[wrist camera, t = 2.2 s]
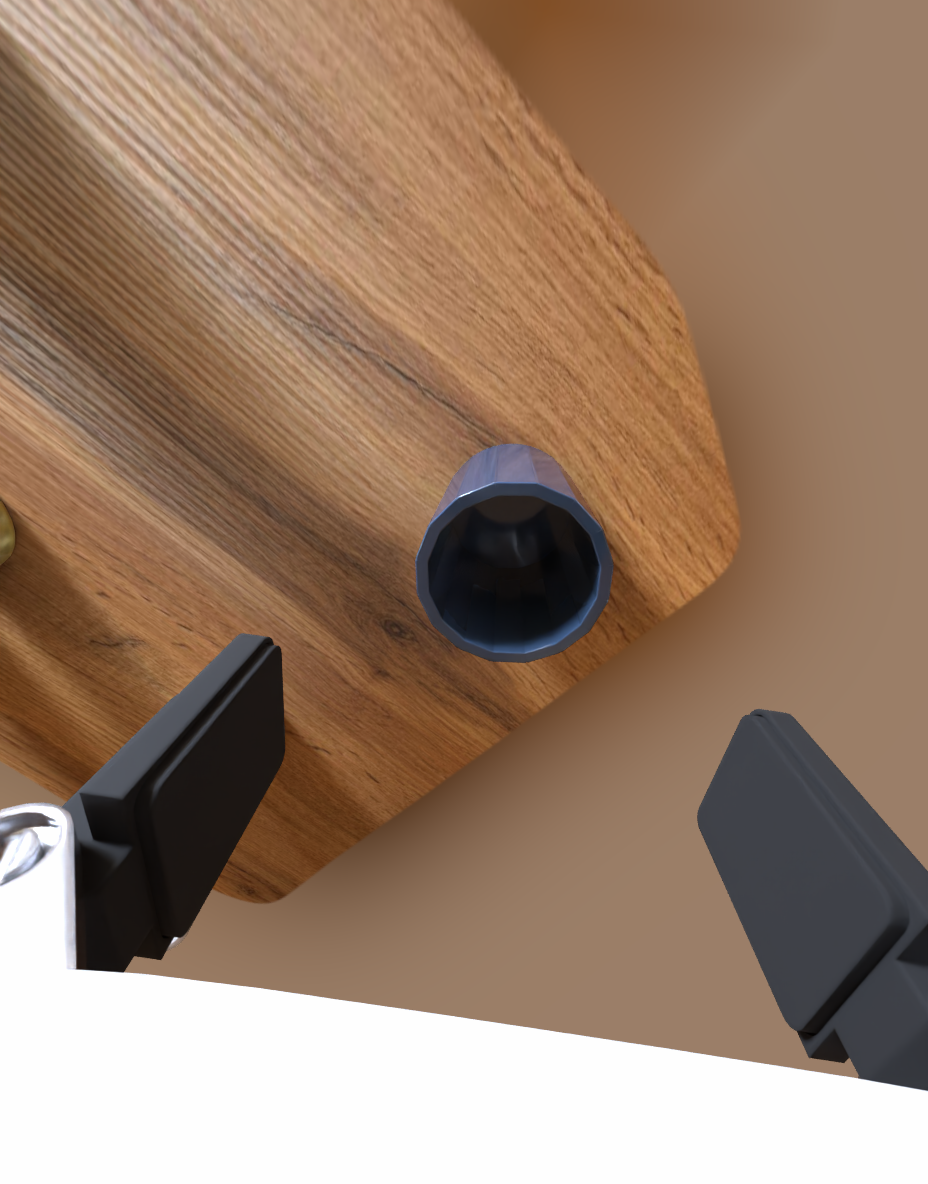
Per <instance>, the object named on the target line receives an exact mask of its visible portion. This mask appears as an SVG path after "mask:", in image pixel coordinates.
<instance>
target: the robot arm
mask: <svg viewBox="0 0 928 1184" xmlns="http://www.w3.org/2000/svg"><path fill="white" fill-rule="evenodd" d="M284 754H285V729H284V703H283V677H282V653H281V648H280V647H279V646H275V645H274V643H273V640H272V639H271V638H270V637H264V636H257V635H250V634H239V635H238V636H237V637H236V638H235V639H234V640H233V641H232V642H231V643H230V644H229V645H228V646H227V647H226V648H225V649H224V650H223V651H222V652H221V653H220V654H219V655H218V656H217V657H216V658H215V659H214V660H213V661H211V662H210V663H209V664H208V665H207V666H206V667H205V668H204V669H203V670H202V671H201V672H200V673H199V674H198V675H197V676H196V677H195V678H194V679H193V680H192V681H191V682H190V683H189V684H188V685H187V686H186V687H185V688H184V689H183V690H182V691H181V692H180V693H179V694H177V695H176V696H175V697H173V698H172V699H171V700H170V701H169V702H168V703H167V704H166V705H165V706H164V707H163V708H162V709H161V710H160V711H159V712H158V713H157V714H156V715H155V716H154V717H152V718H151V719H150V720H149V721H148V722H147V723H146V724H145V725H144V726H143V727H142V728H141V729H140V730H139V731H138V732H137V733H136V734H135V735H134V736H133V737H132V738H131V739H130V740H129V741H128V742H127V743H126V744H125V745H124V746H123V747H122V748H121V749H120V750H119V751H118V752H117V753H116V754H115V755H114V756H113V757H112V758H111V759H110V760H109V761H108V762H107V763H106V764H105V765H104V766H103V767H102V768H101V769H100V770H99V771H98V772H97V773H96V774H95V775H94V776H93V777H92V778H91V779H90V780H89V781H87V782H86V783H85V784H84V785H83V786H82V787H81V788H80V789H79V790H78V791H77V792H76V793H75V794H74V795H73V796H72V797H71V798H70V799H69V800H68V801H67V802H66V803H65V804H64V805H63V806H62V807H61V806H58V805H53V804H49V803H27V804H23V805H18V806H14V807H10V808H5V809H3V810H0V1184H928V871H927V870H926V869H925V868H924V867H923V865H922V864H921V863H920V862H919V861H918V860H917V859H916V857H915V856H914V855H913V854H912V853H911V852H910V851H909V849H908V848H907V847H906V846H905V845H904V844H903V842H902V841H901V840H900V839H899V838H898V837H897V835H896V834H895V833H894V832H893V831H892V830H891V829H890V827H889V826H888V825H887V824H886V823H885V822H884V821H883V819H882V818H881V817H880V816H879V815H878V814H877V813H876V811H875V810H874V809H873V808H872V807H871V806H870V805H869V803H868V802H867V801H866V800H865V799H864V798H863V796H862V795H861V794H860V793H859V792H858V791H857V790H856V788H855V787H854V786H853V785H852V784H851V783H850V781H849V780H848V779H847V778H846V777H845V776H844V775H843V773H842V772H841V771H840V770H839V769H838V768H837V767H836V765H835V764H834V763H833V762H832V761H831V760H830V758H829V757H828V756H827V755H826V754H825V753H824V752H823V750H822V749H821V748H820V747H819V746H818V745H817V744H816V742H815V741H814V740H813V739H812V738H811V737H810V735H809V734H808V733H807V732H806V731H805V730H804V729H803V727H802V726H801V725H800V724H799V723H798V722H797V721H796V719H795V718H794V717H793V716H791V715H790V714H787V713H783V712H776V711H769V710H762V709H756V710H754V711H752V712H751V713H750V715H745V716H744V717H742V719H741V720H740V723H739V725H738V727H737V729H736V731H735V733H734V735H733V737H732V739H731V742H730V744H729V746H728V748H727V750H726V752H725V754H724V756H723V758H722V761H721V763H720V765H719V767H718V769H717V771H716V773H715V775H714V778H713V780H712V782H711V784H710V786H709V788H708V790H707V792H706V794H705V796H704V799H703V801H702V803H701V805H700V807H699V810H698V815H697V819H698V826H699V829H700V831H701V833H702V836H703V838H704V840H705V842H706V845H707V847H708V849H709V851H710V854H711V856H712V858H713V860H714V863H715V865H716V867H717V869H718V871H719V874H720V876H721V878H722V881H723V883H724V885H725V887H726V890H727V891H728V894H729V896H730V898H731V901H732V903H733V905H734V908H735V910H736V912H737V914H738V916H739V919H740V921H741V923H742V925H743V928H744V930H745V932H746V934H747V937H748V939H749V941H750V943H751V946H752V947H753V950H754V952H755V955H756V957H757V959H758V961H759V964H760V966H761V968H762V970H763V972H764V975H765V977H766V979H767V981H768V984H769V986H770V988H771V990H772V993H773V995H774V997H775V999H776V1002H777V1004H778V1006H779V1008H780V1011H781V1013H782V1015H783V1017H784V1019H785V1021H786V1022H787V1023H788V1025H789V1026H790V1027H791V1028H792V1029H794V1030H796V1031H797V1032H798V1035H799V1037H800V1039H801V1041H802V1044H803V1046H804V1048H805V1050H806V1052H807V1054H808V1057H809V1058H814V1059H821V1060H828V1061H835V1062H841V1063H844V1062H845V1061H846V1060H847V1059H848V1058H849V1057H850V1059H851V1061H852V1063H853V1065H854V1067H855V1069H856V1071H857V1072H858V1075H859V1077H858V1079H857V1078H851V1077H845V1076H838V1075H831V1074H825V1073H819V1072H813V1071H806V1070H800V1069H793V1068H787V1067H780V1066H775V1065H768V1064H762V1063H755V1062H749V1061H742V1060H736V1059H730V1058H724V1057H717V1056H710V1055H704V1054H698V1053H691V1052H685V1051H679V1050H673V1049H666V1048H659V1047H652V1046H646V1045H639V1044H633V1043H625V1042H619V1041H613V1040H607V1039H599V1038H593V1037H587V1036H580V1035H574V1034H567V1033H560V1032H554V1031H546V1030H540V1029H534V1028H527V1027H520V1026H514V1025H507V1024H500V1023H494V1022H487V1021H480V1020H474V1019H467V1018H460V1017H453V1016H447V1015H440V1014H433V1013H426V1012H419V1011H412V1010H406V1009H399V1008H391V1007H385V1006H378V1005H370V1004H364V1003H357V1002H350V1001H344V1000H337V999H329V998H323V997H315V996H308V995H302V994H295V993H288V992H281V991H274V990H268V989H260V988H252V987H244V986H236V985H228V984H220V983H212V982H204V981H195V980H188V979H179V978H172V977H164V976H156V975H147V974H136V973H124V971H125V970H126V968H127V966H128V965H129V963H130V962H131V960H132V958H133V957H134V956H137V957H145V958H151V959H157V960H161V959H162V958H163V956H164V954H165V952H166V951H167V949H168V947H169V946H170V944H171V942H172V940H173V939H174V937H177V938H181V937H183V936H184V935H185V934H186V933H187V932H188V930H189V929H190V927H191V925H192V923H193V921H194V920H195V918H196V916H197V915H198V913H199V911H200V909H201V907H202V906H203V904H204V902H205V900H206V898H207V897H208V895H209V893H210V891H211V890H212V888H213V886H214V884H215V883H216V881H217V879H218V877H219V875H220V874H221V872H222V870H223V868H224V866H225V865H226V863H227V861H228V859H229V857H230V856H231V854H232V852H233V850H234V849H235V847H236V845H237V843H238V841H239V840H240V838H241V836H242V834H243V832H244V831H245V829H246V827H247V825H248V824H249V822H250V820H251V818H252V816H253V815H254V813H255V811H256V809H257V807H258V806H259V804H260V802H261V800H262V798H263V797H264V795H265V793H266V791H267V790H268V788H269V786H270V784H271V782H272V781H273V779H274V777H275V775H276V773H277V772H278V770H279V768H280V766H281V764H282V761H283V758H284Z"/></svg>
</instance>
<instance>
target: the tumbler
mask: <svg viewBox="0 0 928 1184" xmlns="http://www.w3.org/2000/svg"><path fill="white" fill-rule="evenodd" d="M415 565H416V586H417V594H418V597H419V599H420V601H421V603H422V605H423V607H424V610H425V612H426V614H427V616H428V618H429V620H430V622H431V624H432V625H433V626H434V627H435V628H436V629H437V630H438V631H439V632H440V633H441V634H443V635H444V636H445V637H446V638H447V639H448V640H449V641H450V642H451V643H453V644H454V645H455V646H456V647H457V648H459V649H461V650H463V651H466V652H468V653H471V654H473V655H476V656H478V657H481V658H484V659H486V660H489V661H493V662H516V663H526V662H531V661H535V660H538V659H541V658H545V657H548V656H551V655H555V654H558V653H560V652H562V651H564V650H565V649H567V648H568V647H569V646H571V645H572V644H573V643H575V642H576V641H577V640H579V639H580V638H581V637H583V636H584V635H585V634H587V633H588V632H589V631H590V630H591V629H592V627H593V625H594V624H595V622H596V620H597V619H598V617H599V616H600V614H601V612H602V611H603V609H604V608H605V606H606V604H607V603H608V600H609V597H610V589H611V582H612V575H613V568H614V565H613V559H612V556H611V553H610V550H609V546H608V543H607V540H606V537H605V533H604V530H603V528H602V527H601V525H600V523H599V522H598V520H597V519H596V517H595V515H594V514H593V512H592V511H591V509H590V507H589V506H588V504H587V503H586V501H585V499H584V498H583V496H582V495H581V493H580V491H579V490H578V488H577V487H576V485H575V483H574V482H573V480H572V479H571V477H570V476H569V475H568V474H567V472H566V471H565V470H564V469H563V468H562V466H561V465H560V464H559V463H558V462H557V461H556V460H555V459H554V458H553V457H552V456H549V455H548V454H547V453H545V452H543V451H541V450H539V449H536V448H534V447H531V446H526V445H522V444H503V445H498V446H494V447H491V448H488V449H485V450H483V451H481V452H479V453H477V454H476V455H474V456H473V457H471V458H470V459H469V460H468V461H467V462H466V463H465V464H464V465H463V466H462V467H461V468H460V469H459V470H458V472H457V473H456V474H455V475H454V476H453V478H452V480H451V482H450V484H449V486H448V488H447V490H446V492H445V494H444V496H443V498H442V500H441V502H440V504H439V506H438V508H437V510H436V512H435V514H434V516H433V517H432V519H431V521H430V523H429V525H428V528H427V530H426V533H425V535H424V538H423V540H422V543H421V546H420V548H419V551H418V553H417V556H416V560H415Z"/></svg>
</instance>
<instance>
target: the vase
mask: <svg viewBox="0 0 928 1184" xmlns="http://www.w3.org/2000/svg"><path fill="white" fill-rule="evenodd" d="M14 546H15V530H14V525H13V522H12V520H11V517H10V515H9V513H8V511H7V509H6V507H5V506H4V504H3V503H2V501H1V500H0V565H1V564H3V563H4V562H5V561H6V560H7V559H8V558H9V557H10V556H11V554H12V552H13V550H14Z"/></svg>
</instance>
